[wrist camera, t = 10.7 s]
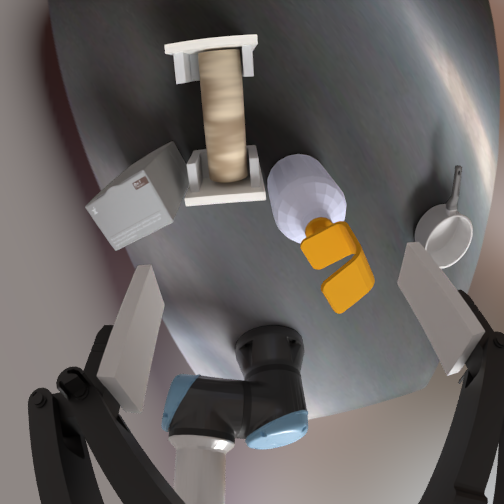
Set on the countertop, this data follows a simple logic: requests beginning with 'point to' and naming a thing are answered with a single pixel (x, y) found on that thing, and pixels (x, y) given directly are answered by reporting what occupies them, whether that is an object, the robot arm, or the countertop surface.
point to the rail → (223, 114)
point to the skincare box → (141, 197)
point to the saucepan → (445, 229)
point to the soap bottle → (319, 226)
